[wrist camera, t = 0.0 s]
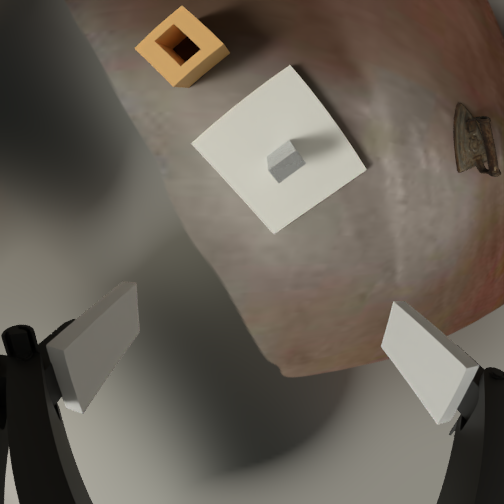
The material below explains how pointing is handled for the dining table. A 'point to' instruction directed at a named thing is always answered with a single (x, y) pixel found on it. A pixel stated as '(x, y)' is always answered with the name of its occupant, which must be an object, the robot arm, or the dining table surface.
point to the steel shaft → (284, 161)
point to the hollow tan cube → (169, 36)
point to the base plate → (272, 137)
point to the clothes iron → (474, 143)
